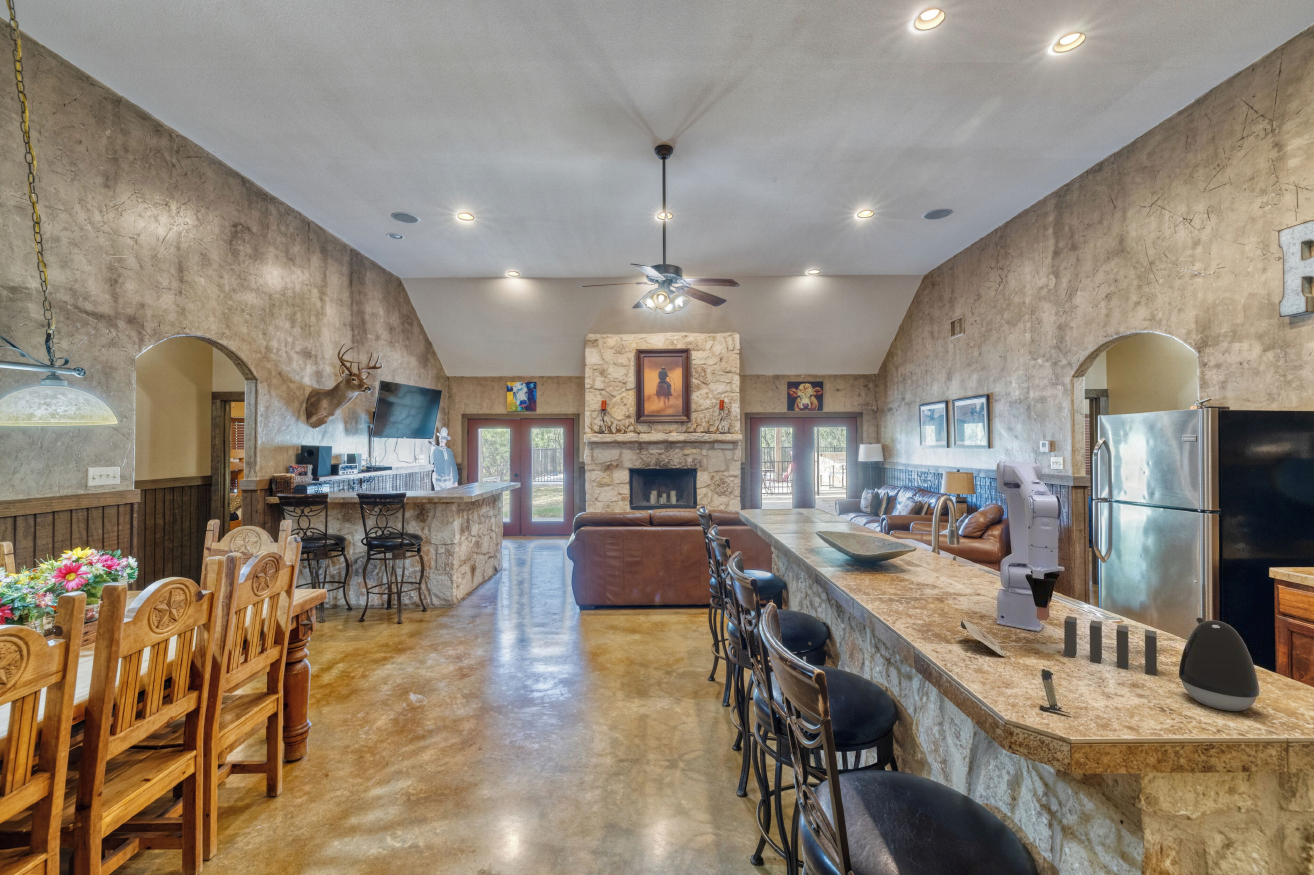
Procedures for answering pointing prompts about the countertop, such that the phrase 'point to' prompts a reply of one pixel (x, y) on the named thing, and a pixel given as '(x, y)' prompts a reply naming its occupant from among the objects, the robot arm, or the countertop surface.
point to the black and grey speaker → (1218, 667)
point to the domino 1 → (1070, 636)
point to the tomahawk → (1050, 694)
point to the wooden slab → (982, 637)
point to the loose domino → (1043, 613)
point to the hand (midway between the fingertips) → (1042, 604)
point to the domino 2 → (1095, 641)
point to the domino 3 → (1122, 647)
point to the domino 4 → (1151, 652)
